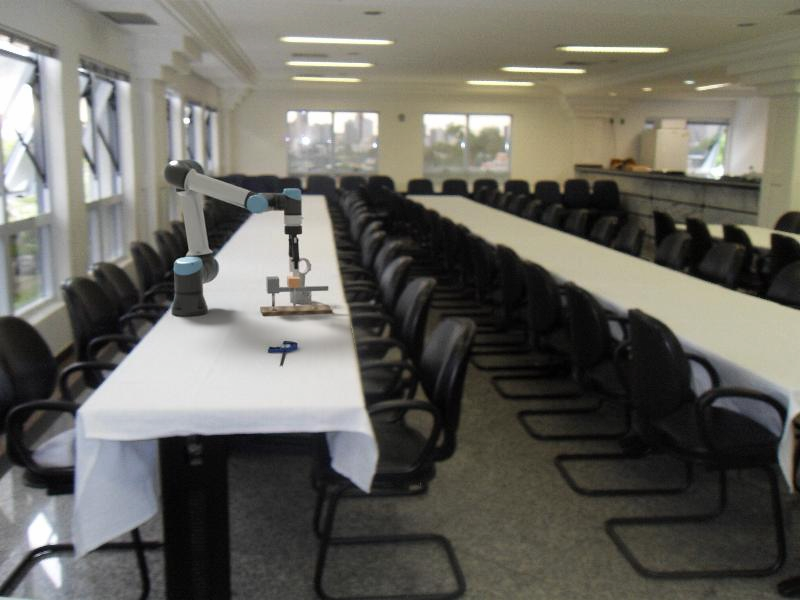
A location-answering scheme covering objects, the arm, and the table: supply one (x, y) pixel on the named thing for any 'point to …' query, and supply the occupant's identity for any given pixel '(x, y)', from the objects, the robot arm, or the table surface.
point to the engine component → (302, 296)
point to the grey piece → (273, 288)
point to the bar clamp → (284, 349)
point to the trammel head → (293, 286)
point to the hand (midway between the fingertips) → (294, 274)
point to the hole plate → (296, 310)
